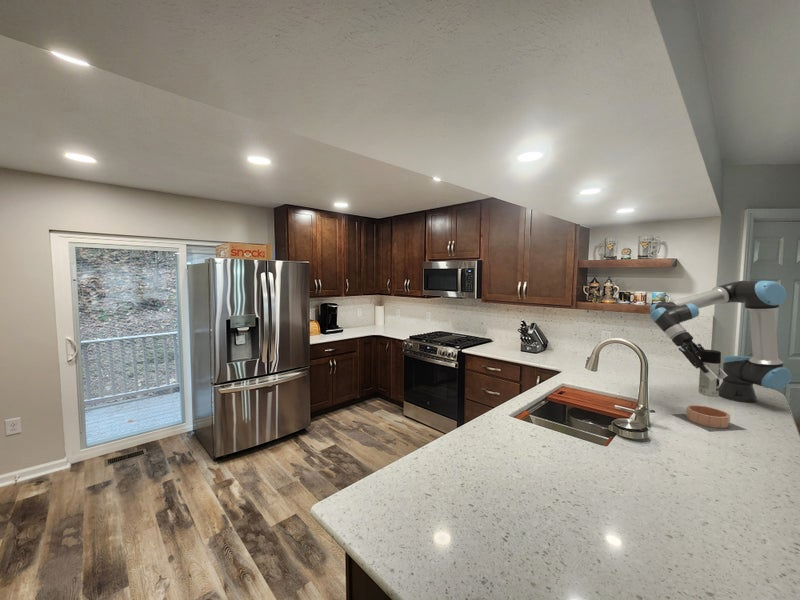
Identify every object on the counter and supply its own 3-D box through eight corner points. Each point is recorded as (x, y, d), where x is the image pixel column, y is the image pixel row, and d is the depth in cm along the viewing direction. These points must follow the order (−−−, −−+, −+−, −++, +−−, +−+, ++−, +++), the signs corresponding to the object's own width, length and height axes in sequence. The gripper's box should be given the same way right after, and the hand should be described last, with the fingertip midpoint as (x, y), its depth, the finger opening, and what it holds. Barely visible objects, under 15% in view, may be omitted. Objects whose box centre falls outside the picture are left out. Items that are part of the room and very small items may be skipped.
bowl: (705, 414, 157) (705, 404, 157) (738, 427, 143) (738, 416, 143) (678, 415, 156) (679, 405, 155) (709, 429, 142) (709, 418, 141)
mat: (704, 413, 159) (704, 412, 159) (747, 430, 141) (747, 429, 141) (670, 415, 157) (670, 414, 157) (709, 433, 140) (709, 431, 140)
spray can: (719, 398, 144) (722, 353, 143) (699, 394, 148) (701, 351, 147) (717, 394, 149) (720, 350, 148) (697, 390, 153) (700, 348, 152)
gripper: (685, 338, 165) (724, 380, 151) (659, 341, 158) (698, 385, 144) (698, 329, 160) (740, 371, 146) (672, 332, 153) (714, 376, 139)
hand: (719, 378), depth 145 cm, fingers closed on spray can, 7 cm apart
